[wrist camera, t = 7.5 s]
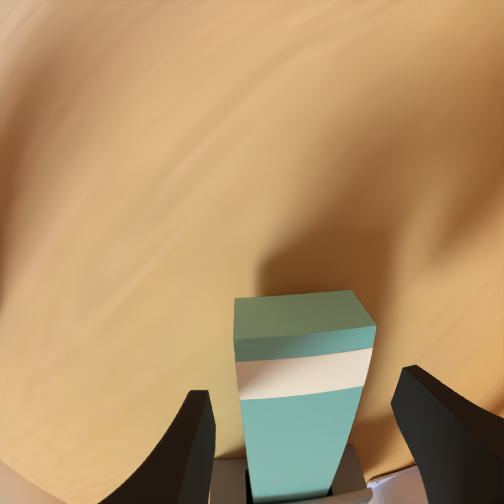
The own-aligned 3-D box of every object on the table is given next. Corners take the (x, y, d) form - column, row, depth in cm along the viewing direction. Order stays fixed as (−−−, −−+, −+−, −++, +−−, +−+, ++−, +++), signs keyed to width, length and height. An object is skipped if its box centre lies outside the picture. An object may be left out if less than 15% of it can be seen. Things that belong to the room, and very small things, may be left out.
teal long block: (351, 289, 12) (377, 325, 10) (319, 467, 17) (325, 498, 15) (234, 298, 12) (232, 339, 9) (252, 474, 17) (253, 506, 14)
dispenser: (355, 440, 18) (374, 495, 13) (335, 487, 21) (345, 530, 16) (210, 454, 18) (206, 515, 13) (225, 498, 21) (225, 542, 16)
